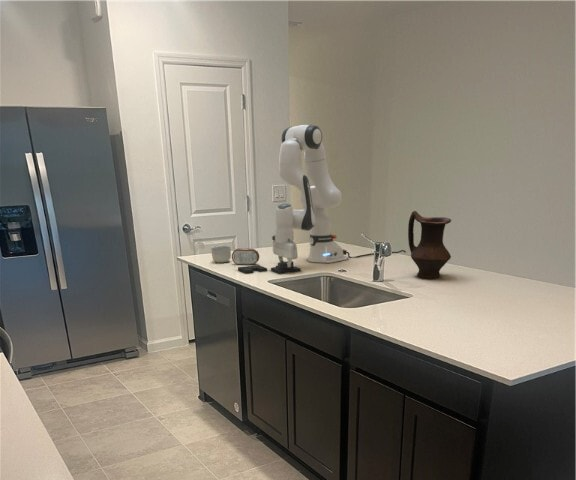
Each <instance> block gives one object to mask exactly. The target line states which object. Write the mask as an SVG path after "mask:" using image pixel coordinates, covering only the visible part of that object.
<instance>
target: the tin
mask: <svg viewBox="0 0 576 480" xmlns="http://www.w3.org/2000/svg"><path fill="white" fill-rule="evenodd" d="M259 260H260V254H259V251H258V250H256V249H255V248H236V249H234V250H233V251H232V252H231V261H232V262H233V263H234V264H236V265H239V266H240V265H241V266H242V265H245V266H247V265H248V266H254V265H257V263H258V262H259Z"/></svg>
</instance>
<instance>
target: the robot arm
mask: <svg viewBox="0 0 576 480" xmlns="http://www.w3.org/2000/svg"><path fill="white" fill-rule="evenodd" d="M279 149H280V150H279V157H278V159H279V161H278V162H279V163H278V169H279V170H278V171H279V176H280V178H281V180H282V181H284V182H285V183H286V184H288V185H291V186H293V187H294V188H297V189H298V190H299V191H300V201H301V203H302V205H303V209H293V206H292V204H290V203H280V204H278V205H277V206H276V209H275V226H276V228H275V229H276V230H275V234H273V235H272V236H271V241H272V252H273V255H276V256H277V258H278V261H279V262H285V261H284V258H285V259H287V261H288V263H287V267H291V263H292V261H293V260H297V259H298V257H299V256H298V255H299V254H298V246H297V243H296V242H295V240H294V237H295V236H294V235H295V233H294V230H301V231H310V233H309V246H310V247H309V253H308V258H307V261H308V262H311V263H324V264H331V263H338V262H343V261H348V258H349V259H356V258H360V257H368V256H372V255H373V256H374V255H375V254H374V253H375V252H371V253H366V254H365V253H364V254H360V255H356V256H353V257H352V256H350V252H349V251H347V249H344V248H343V247H342V246H341V245H339V244H338V243H337V242H336V241H335V240H336V239H337V238H338V235H336V234H332V220H331V218H330V217H329V216H328V214H327V213H326V210H325V209H328V210H330V209H335V208H338V207H339V206H340V205H341V203H342V200H343V196H342V192H341V190H340V189H339V188H338V187H336V185H335V183H333V180H332V179H331V175H330V172H329V168H328V161H327V155H326V150H325V145H324V142H323V133H322V130H321V129H320V127H319V126H318V125H315V124H300V125H296V126H289V127H287V128H285V129H284V130H283V131H282V133H281V145H280V148H279ZM302 151H303V156H304V164H305V170H306V175H305V173H304V171H303V167H302ZM309 180H310V181H311V182H312V184H313V185H311V184H310V181H309ZM310 185H311V186H310ZM391 252H392V253H391V254H399V253H401V252H403V253H407V251H406V250H404V249H401V250H397V251H391ZM346 255H347V256H346Z"/></svg>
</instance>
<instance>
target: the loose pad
mask: <svg viewBox="0 0 576 480" xmlns="http://www.w3.org/2000/svg"><path fill="white" fill-rule="evenodd" d="M287 263H288V260H287V261H284V262H280V261H279V262H277V265H275V267H270V271H271V272H273V273H276V274H278V275H282V274H291V273H299V272H301V267H297V266H294V261H293V260H292V263H291V267H287Z"/></svg>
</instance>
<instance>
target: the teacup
mask: <svg viewBox="0 0 576 480" xmlns="http://www.w3.org/2000/svg"><path fill="white" fill-rule="evenodd" d="M210 250H211V251H210V252H211V256H212V260H213V261H214V262H215V263H218V264H221V263H223V264H225V263H228V262H229V261H230V260H231V259H232V252H231V246H228V245H219V246H218V245H217V246H215V245H214V246H213V247H211V248H210Z"/></svg>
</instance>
